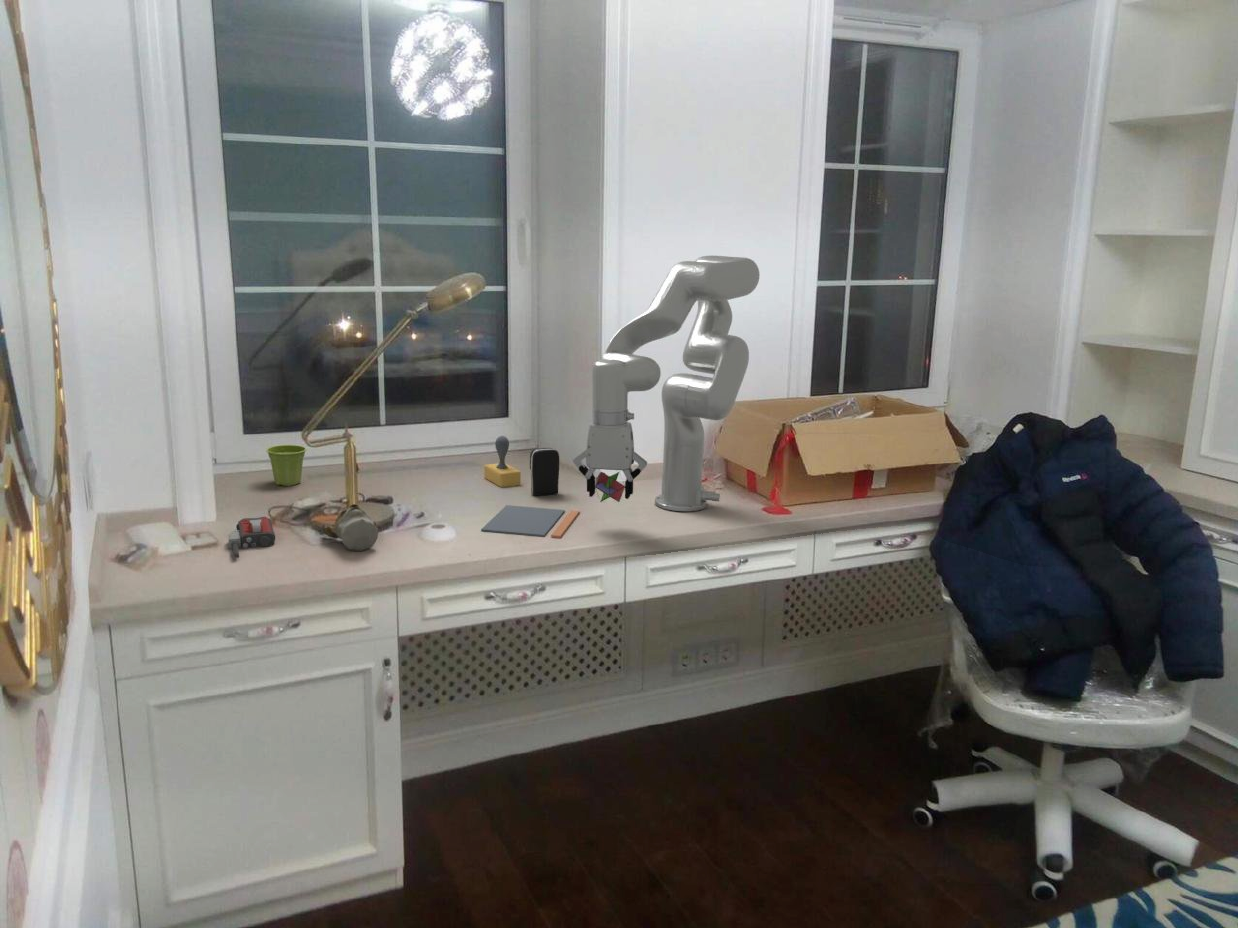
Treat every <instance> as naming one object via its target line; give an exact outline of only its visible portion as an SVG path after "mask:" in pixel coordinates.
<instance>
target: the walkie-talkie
mask: <svg viewBox="0 0 1238 928" xmlns="http://www.w3.org/2000/svg"><path fill="white" fill-rule="evenodd" d="M228 537H229V538H228V548H229V549H232V555H233V557H234V558H236V559H238V558H239V557H240V553H239V551H240V550H239V548H241V549H247V548H259V547H268V546H274V545H276V544H275V541H276V534H275V531H274V528H273V524H272V520H271V518H269V517H266V516H256V517H254V516H253V517H246V518H245V517H244V518H242V519H240V520H239V521H238V523H237V524H236V530H234V531H232V532H230V533H228Z"/></svg>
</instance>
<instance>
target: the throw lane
mask: <svg viewBox="0 0 1238 928" xmlns="http://www.w3.org/2000/svg"><path fill="white" fill-rule="evenodd" d="M565 512H566V510H565V509H557V508H555V509H554V508H547V507H545V508H543V507H534V506H521V505H511V504H506V505H505V506H504V507H503V508H502V509H501V510H500V511H499V512H498V513H496V514H495V516H494V517H492V519H490V521H489V520H488V522H487V523H486V524H485V525H484V526H483V527H482V528H481V529H480V530H481V531H480V532H487V533H488V532H489V533H497V534H499V533H500V534H507V535H508V534H509V535H522V536H532V537H533V536H534V537H542V538H543V537H544V538H545V536H546V535H547V534H548V533H549V531H550V530H551V529H552V528H553V527H554V525H555V524H556V523H557V522H558V520H559V519H560V518H561V516H563V514H564V513H565ZM579 514H580V510H574V509H571V510H570V511H568V513H567V515H566V516H564V518H563V519H562V521H561V522H560V523H559V524H558V525H557V527H556V528H555V530H553V532H552V533H551V534H550V538H552V539H553V538H554V539H556V538H557V539H561V538H562V536H563V535H564V534H565V532H566V531H567V530H568V529H569V528H570V526H571V525H572V524H573V522H574V521H575V519H576V518H577V517H578V516H579Z"/></svg>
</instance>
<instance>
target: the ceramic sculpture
mask: <svg viewBox="0 0 1238 928" xmlns="http://www.w3.org/2000/svg"><path fill="white" fill-rule="evenodd" d="M322 528H323V532H324V534H325V535H326V536H327V537H330V538H332V539H340V540H341V542H342V543H343V545H344V546H345V548H347V549H348V550H350V551H355V552H362V551H365V550H368V549H370V548H372V547H373V546H374V545H375V543H376V542H377V540H378V535H379V529H378V528H377V523H376V521H373V520H372V518H371V517H370V516H369V515H368V514H367V512H366V511H365V510H364V509H363V508H362V507H359V505H357V504H354V503H353V504H351V505H349V508H344V509H342V510H341V511H340V512H339V513H338V514H337V517H336V520H335V521H334V524H333V523H332V524H331V525H326V524H323V525H322Z"/></svg>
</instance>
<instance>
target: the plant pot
mask: <svg viewBox="0 0 1238 928" xmlns="http://www.w3.org/2000/svg"><path fill="white" fill-rule="evenodd" d="M307 450H308V449H307V447H305V446H302V445H296V444H279V445H273V446H270V447H268V448H266V450H265V451H266V453H267V454H268V457H269V459H270V465H271V469H272V475H273V480H274V484H275V485H277V486H278V485H279V486H280V485H281V486H284V487H287V486H288V487H289V486H296V485H297V484H301V481H302V472H303V462H304V457H305V452H307Z"/></svg>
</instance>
